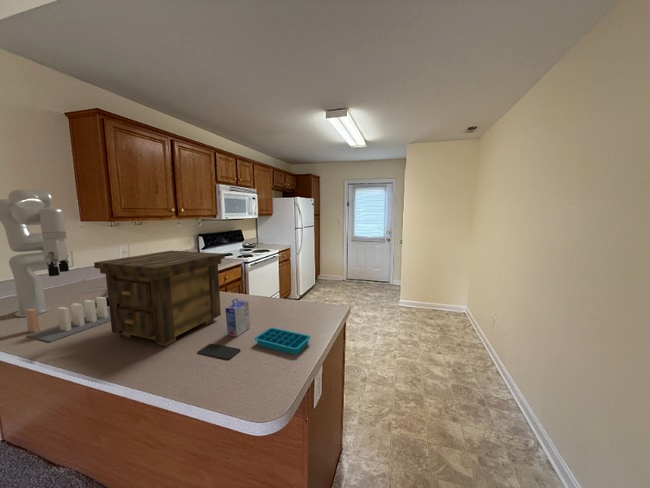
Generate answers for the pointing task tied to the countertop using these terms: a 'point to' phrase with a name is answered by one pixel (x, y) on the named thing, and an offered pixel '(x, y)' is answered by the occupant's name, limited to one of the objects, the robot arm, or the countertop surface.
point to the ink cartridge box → (237, 317)
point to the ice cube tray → (282, 340)
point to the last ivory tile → (64, 318)
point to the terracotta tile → (32, 320)
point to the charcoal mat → (57, 333)
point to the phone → (219, 351)
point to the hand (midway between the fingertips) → (59, 273)
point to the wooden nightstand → (162, 293)
